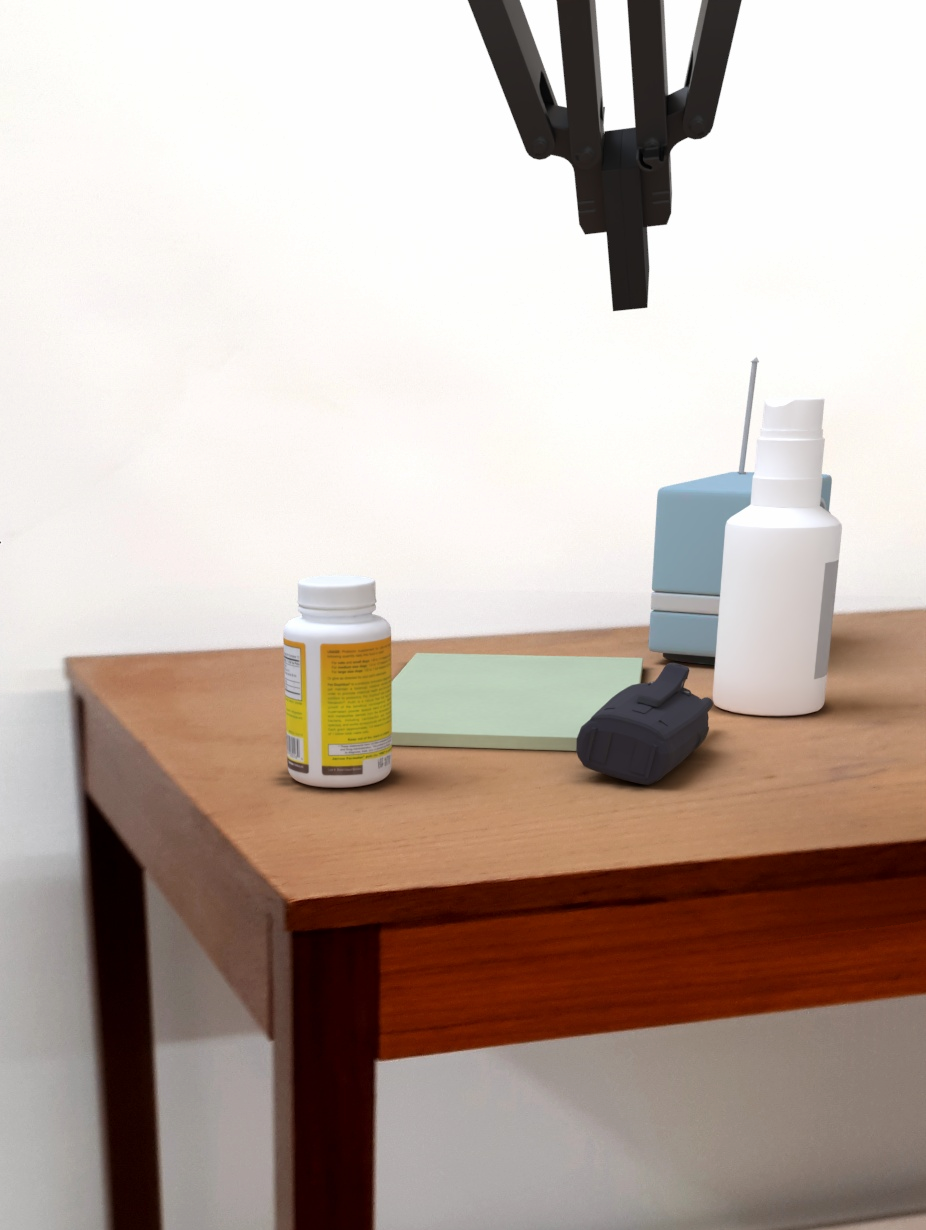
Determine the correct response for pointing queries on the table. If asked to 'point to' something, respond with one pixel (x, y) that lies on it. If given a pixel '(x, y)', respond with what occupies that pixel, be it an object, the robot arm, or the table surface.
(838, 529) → the spray bottle
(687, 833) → the table surface
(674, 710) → the two-way radio
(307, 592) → the supplement bottle
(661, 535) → the radio
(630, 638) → the table surface
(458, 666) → the mat
